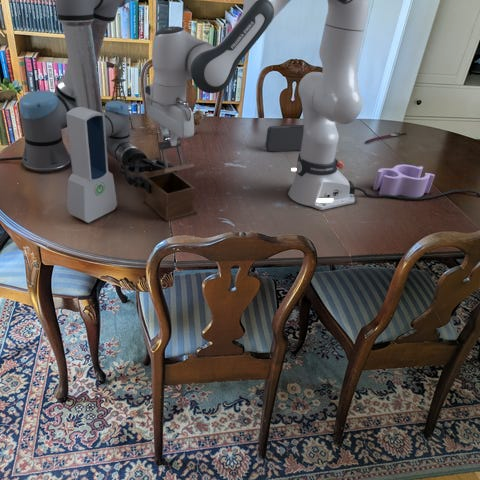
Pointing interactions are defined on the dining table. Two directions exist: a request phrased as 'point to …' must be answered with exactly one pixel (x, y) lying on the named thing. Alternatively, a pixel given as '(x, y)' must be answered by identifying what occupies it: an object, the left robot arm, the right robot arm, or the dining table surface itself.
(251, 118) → the dining table surface
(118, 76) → the miniature windmill
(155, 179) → the chest
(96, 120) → the electronic device
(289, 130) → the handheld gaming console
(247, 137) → the dining table surface
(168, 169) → the lid
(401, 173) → the clip
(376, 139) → the sword
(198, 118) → the lion figurine
